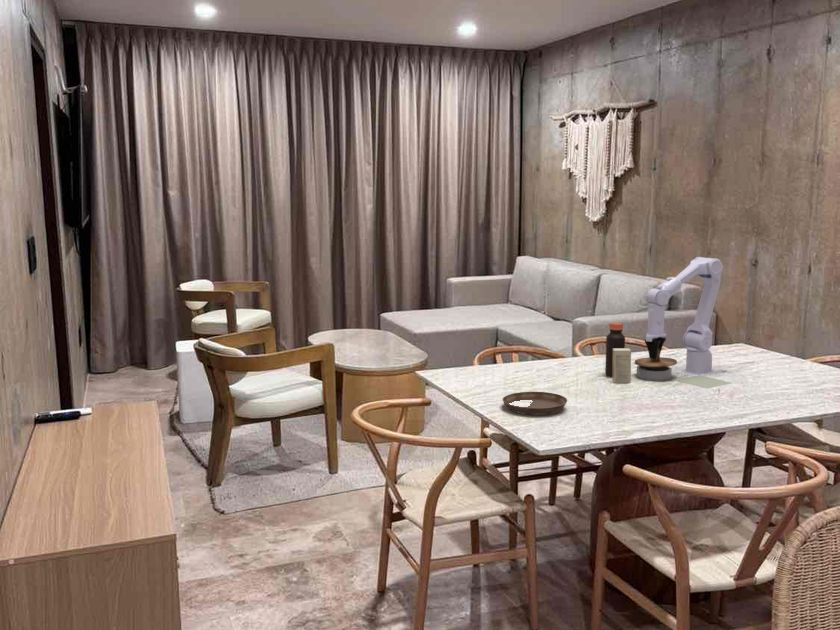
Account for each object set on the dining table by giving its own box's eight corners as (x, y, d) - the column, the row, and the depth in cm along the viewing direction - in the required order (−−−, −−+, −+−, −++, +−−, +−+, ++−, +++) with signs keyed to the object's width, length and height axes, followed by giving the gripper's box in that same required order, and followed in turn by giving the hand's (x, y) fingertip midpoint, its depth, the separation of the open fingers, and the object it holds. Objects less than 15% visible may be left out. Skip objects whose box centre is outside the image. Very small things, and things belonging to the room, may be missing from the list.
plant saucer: (489, 410, 251) (489, 400, 251) (524, 397, 267) (525, 387, 266) (545, 422, 238) (545, 411, 238) (578, 407, 254) (579, 397, 253)
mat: (699, 376, 293) (699, 375, 293) (732, 384, 281) (732, 382, 281) (674, 381, 285) (674, 380, 285) (707, 389, 274) (707, 388, 273)
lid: (664, 358, 298) (664, 344, 298) (684, 364, 284) (684, 350, 283) (627, 361, 296) (627, 347, 295) (646, 368, 281) (645, 353, 280)
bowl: (652, 373, 299) (652, 362, 298) (677, 379, 289) (678, 368, 288) (630, 377, 293) (630, 366, 292) (655, 383, 283) (655, 372, 282)
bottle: (627, 376, 293) (629, 324, 290) (612, 378, 291) (614, 325, 288) (616, 372, 300) (618, 321, 296) (601, 374, 297) (603, 322, 294)
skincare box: (629, 380, 288) (630, 348, 286) (630, 383, 284) (632, 350, 282) (611, 380, 288) (612, 347, 286) (612, 383, 284) (614, 350, 282)
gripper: (660, 325, 279) (658, 362, 282) (673, 319, 291) (671, 355, 293) (640, 323, 283) (639, 360, 286) (654, 318, 295) (653, 353, 297)
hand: (654, 357), depth 290 cm, fingers closed on lid, 3 cm apart
